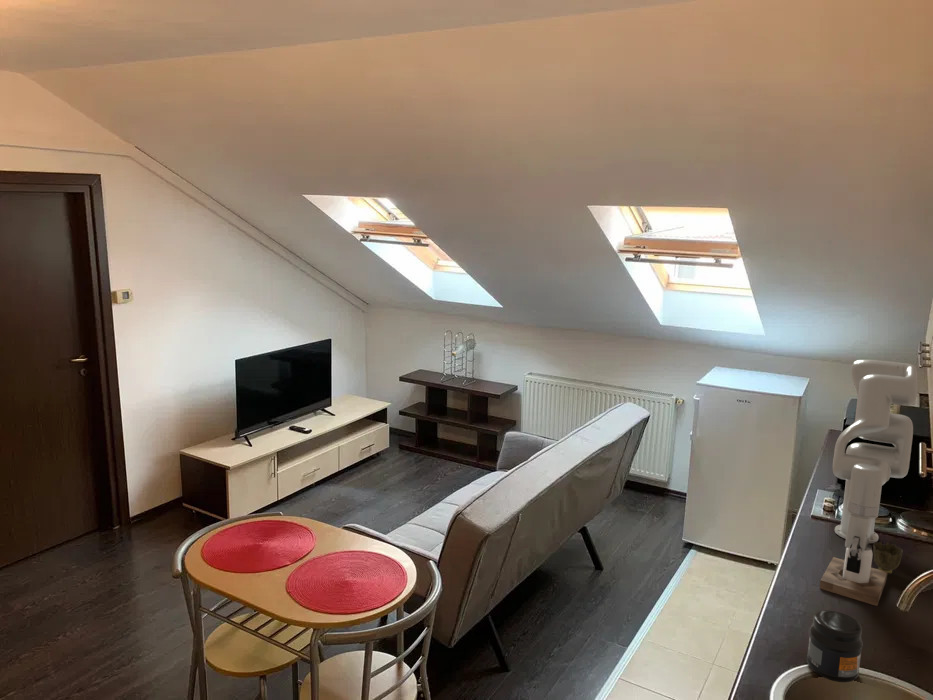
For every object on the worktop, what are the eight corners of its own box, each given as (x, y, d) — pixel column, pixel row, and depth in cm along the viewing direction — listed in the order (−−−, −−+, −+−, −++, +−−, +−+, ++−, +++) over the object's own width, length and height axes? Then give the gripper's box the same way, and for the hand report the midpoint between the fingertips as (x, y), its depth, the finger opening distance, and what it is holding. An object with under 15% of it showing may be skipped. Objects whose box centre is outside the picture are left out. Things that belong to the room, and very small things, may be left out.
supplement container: (869, 682, 147) (876, 632, 145) (827, 687, 146) (833, 637, 143) (835, 653, 158) (841, 606, 156) (795, 657, 156) (801, 610, 154)
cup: (874, 576, 194) (877, 550, 193) (867, 564, 201) (870, 540, 200) (903, 580, 192) (907, 554, 191) (894, 568, 199) (898, 543, 198)
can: (871, 591, 186) (877, 552, 183) (846, 589, 187) (851, 549, 185) (862, 579, 192) (868, 541, 190) (838, 577, 193) (843, 538, 191)
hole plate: (832, 564, 201) (833, 557, 200) (886, 580, 192) (887, 572, 192) (819, 588, 187) (820, 580, 187) (877, 606, 178) (878, 597, 178)
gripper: (853, 495, 195) (846, 550, 198) (841, 514, 181) (834, 572, 184) (882, 502, 190) (875, 558, 193) (873, 521, 177) (866, 581, 180)
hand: (855, 565), depth 189 cm, fingers open, 9 cm apart
